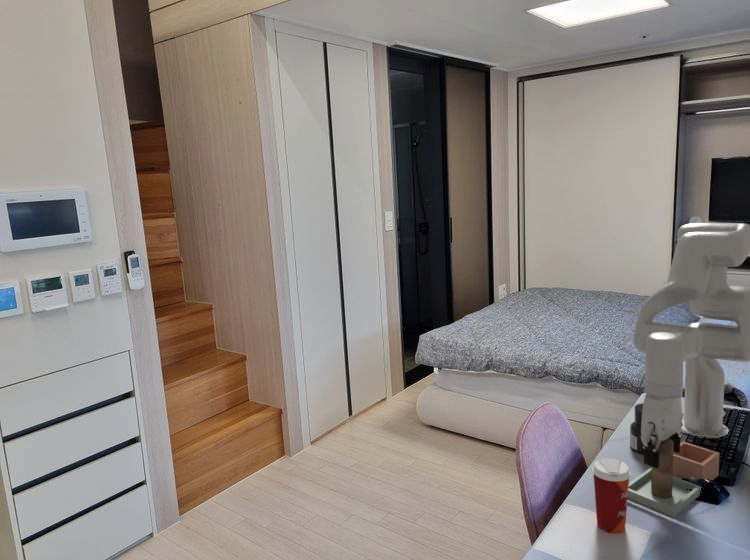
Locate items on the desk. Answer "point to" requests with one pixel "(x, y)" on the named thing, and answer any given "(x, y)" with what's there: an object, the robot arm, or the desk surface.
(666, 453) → the walnut peg
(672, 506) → the sage tray
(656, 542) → the desk surface
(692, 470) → the terracotta box
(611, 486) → the paper cup
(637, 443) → the ink bottle
